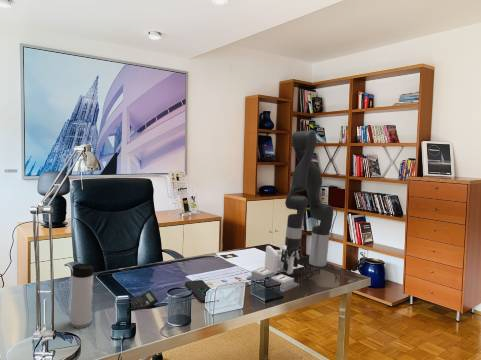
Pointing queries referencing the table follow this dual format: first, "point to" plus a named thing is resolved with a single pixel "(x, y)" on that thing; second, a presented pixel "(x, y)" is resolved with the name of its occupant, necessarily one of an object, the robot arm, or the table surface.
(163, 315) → the table surface
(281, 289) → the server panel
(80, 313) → the travel mug
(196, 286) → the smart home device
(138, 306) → the calculator
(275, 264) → the cable organizer
